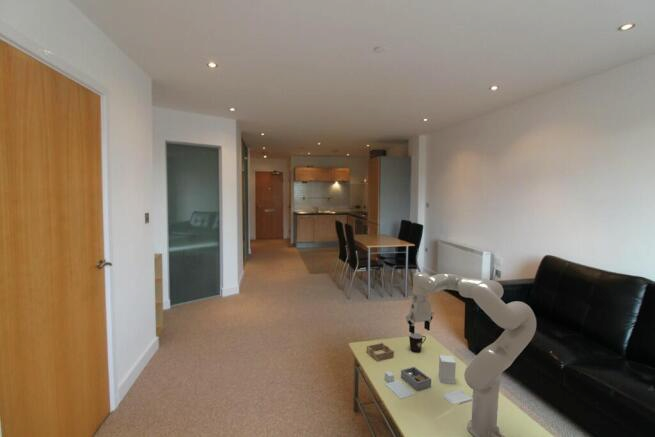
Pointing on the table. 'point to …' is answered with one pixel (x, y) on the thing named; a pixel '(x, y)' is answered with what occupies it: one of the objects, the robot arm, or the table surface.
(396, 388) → the lid
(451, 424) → the table surface
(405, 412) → the table surface
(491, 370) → the robot arm
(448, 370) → the supplement box
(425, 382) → the tub
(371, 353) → the frame
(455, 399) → the hard drive
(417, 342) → the coffee mug
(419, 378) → the walnut block
